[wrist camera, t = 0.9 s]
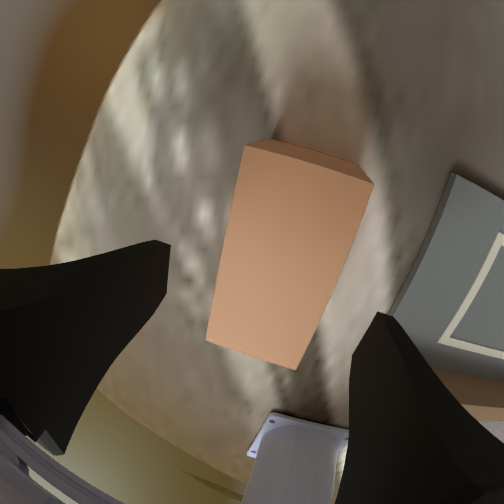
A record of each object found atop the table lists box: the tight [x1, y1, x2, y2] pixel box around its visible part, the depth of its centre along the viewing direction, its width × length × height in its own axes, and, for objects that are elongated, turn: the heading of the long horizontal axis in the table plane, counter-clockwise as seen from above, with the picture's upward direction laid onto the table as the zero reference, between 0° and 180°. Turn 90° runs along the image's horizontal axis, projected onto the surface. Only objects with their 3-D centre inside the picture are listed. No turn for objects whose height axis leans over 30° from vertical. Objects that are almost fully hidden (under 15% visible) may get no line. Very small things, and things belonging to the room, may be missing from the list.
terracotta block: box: [206, 139, 374, 370], centre depth 14 cm, size 9×4×5 cm, turn 167°
